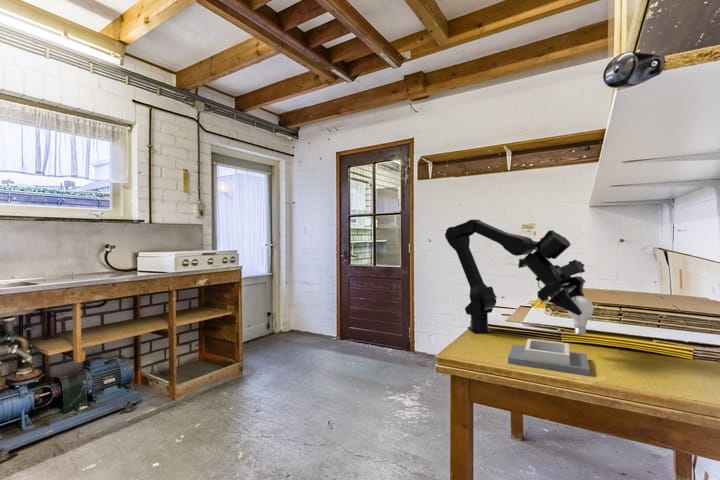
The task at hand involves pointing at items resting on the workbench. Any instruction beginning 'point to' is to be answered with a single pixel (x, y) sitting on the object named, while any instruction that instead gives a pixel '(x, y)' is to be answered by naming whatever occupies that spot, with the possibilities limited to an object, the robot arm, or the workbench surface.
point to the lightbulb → (582, 319)
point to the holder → (549, 357)
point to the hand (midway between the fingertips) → (585, 312)
